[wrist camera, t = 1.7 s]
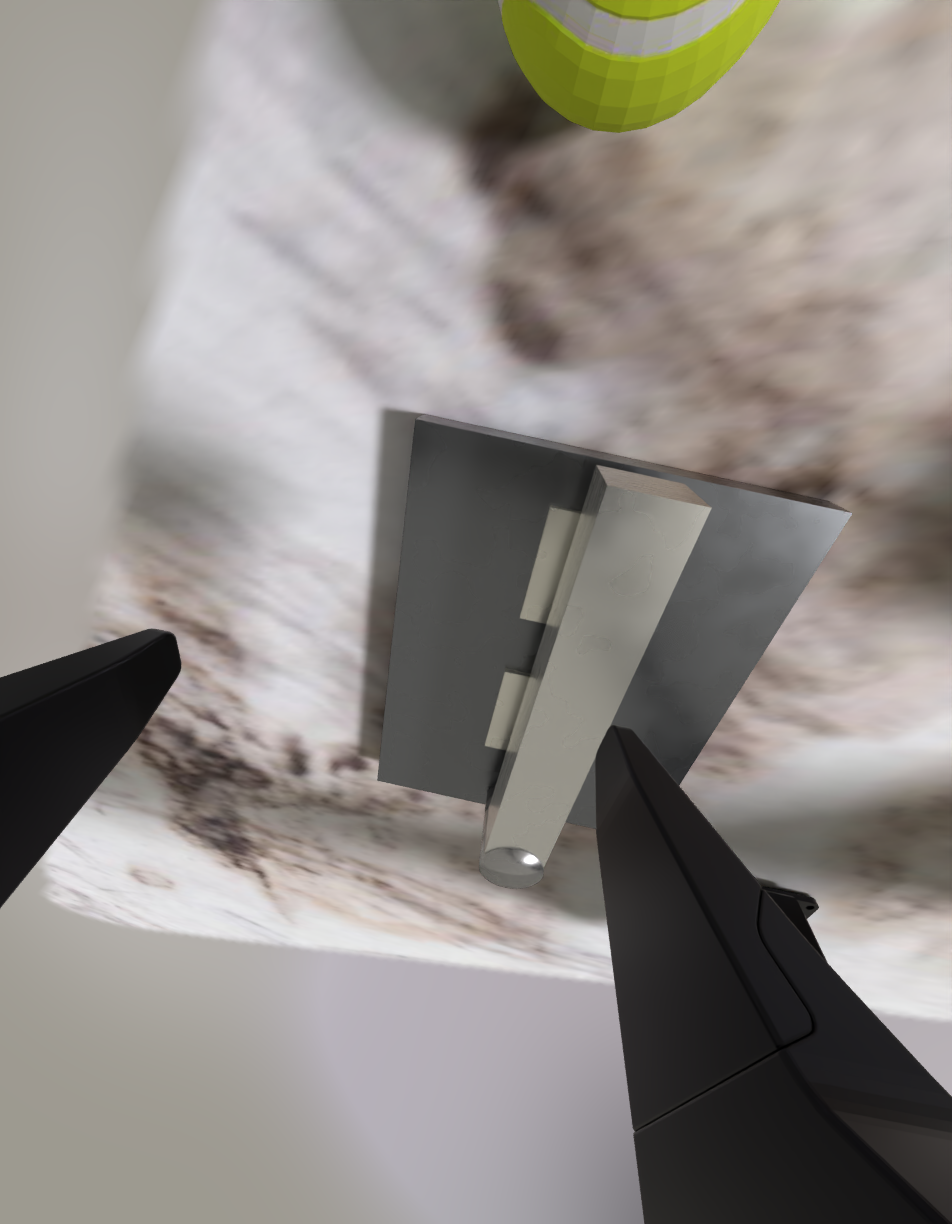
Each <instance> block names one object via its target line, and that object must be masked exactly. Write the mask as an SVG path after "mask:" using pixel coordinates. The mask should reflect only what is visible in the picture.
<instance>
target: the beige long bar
mask: <svg viewBox="0 0 952 1224" xmlns="http://www.w3.org/2000/svg"><path fill="white" fill-rule="evenodd" d="M711 509H712V508H711V507H710V506H709V505H708V504H707V503H706V502H705V501H703V500H702V499H701V498H700V497H699V496H698V495H697V494H695V493H694V492H693V491H692V490H691V489H690V488H689V487H688V486H686V485H685V484H683V483H678V482H674V481H669V480H664V479H660V478H655V477H650V476H646V475H641V474H637V473H632V472H627V471H623V470H618V469H613V468H609V467H604V466H599V465H596V468H595V471H594V474H593V477H592V480H591V484H590V487H589V490H588V493H587V496H586V500H585V503H584V506H583V509H582V512H581V515H580V519H579V522H578V525H577V528H576V531H575V535H574V538H573V541H572V544H571V547H570V550H569V554H568V557H567V560H566V563H565V566H564V570H563V573H562V576H561V579H560V582H559V585H558V589H557V592H556V595H555V598H554V601H553V605H552V608H551V611H550V614H549V617H548V620H547V624H546V627H545V630H544V633H543V636H542V640H541V643H540V646H539V649H538V652H537V655H536V659H535V662H534V665H533V668H532V671H531V675H530V678H529V681H528V684H527V687H526V690H525V694H524V697H523V700H522V703H521V706H520V710H519V713H518V716H517V719H516V722H515V726H514V729H513V732H512V735H511V738H510V741H509V745H508V748H507V751H506V754H505V757H504V761H503V764H502V767H501V770H500V773H499V776H498V780H497V783H496V786H495V789H494V792H493V796H492V799H491V802H490V805H489V808H488V809H487V810H486V812H485V816H484V825H483V834H482V843H481V852H480V861H479V870H480V872H481V874H482V875H483V876H484V877H485V878H486V879H487V880H488V881H490V882H492V883H494V884H496V885H498V886H502V887H506V888H516V889H517V888H526V887H530V886H533V885H535V884H537V883H538V882H539V881H540V880H541V879H542V877H543V875H544V866H545V864H546V862H547V860H548V858H549V856H550V854H551V851H552V849H553V847H554V845H555V843H556V841H557V839H558V836H559V834H560V832H561V830H562V828H563V826H564V824H565V821H566V819H567V817H568V815H569V813H570V811H571V809H572V806H573V804H574V802H575V800H576V798H577V796H578V794H579V791H580V789H581V787H582V785H583V783H584V781H585V779H586V776H587V774H588V772H589V770H590V768H591V766H592V764H593V761H594V759H595V757H596V753H597V750H598V748H599V746H600V744H601V742H602V740H603V738H604V736H605V734H606V732H607V730H608V728H609V727H610V725H611V723H612V721H613V719H614V716H615V714H616V712H617V710H618V708H619V706H620V704H621V701H622V699H623V697H624V695H625V693H626V691H627V689H628V686H629V684H630V682H631V680H632V678H633V676H634V674H635V671H636V669H637V667H638V665H639V663H640V661H641V659H642V656H643V654H644V652H645V650H646V648H647V646H648V644H649V641H650V639H651V637H652V635H653V633H654V631H655V629H656V626H657V624H658V622H659V620H660V618H661V616H662V614H663V611H664V609H665V607H666V605H667V603H668V601H669V599H670V596H671V594H672V592H673V590H674V588H675V586H676V584H677V581H678V579H679V577H680V575H681V573H682V571H683V569H684V566H685V564H686V562H687V560H688V558H689V556H690V554H691V551H692V549H693V547H694V545H695V543H696V541H697V539H698V536H699V534H700V532H701V530H702V528H703V526H704V524H705V521H706V519H707V517H708V515H709V513H710V511H711Z"/></svg>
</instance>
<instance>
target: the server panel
mask: <svg viewBox="0 0 952 1224" xmlns="http://www.w3.org/2000/svg"><path fill="white" fill-rule="evenodd" d="M596 465H599V466H604V467H609V468H613V469H618V470H623V471H627V472H632V473H637V474H641V475H646V476H650V477H655V478H660V479H664V480H669V481H674V482H678V483H683V484H685V485H686V486H688V487H689V488H690V489H691V490H692V491H693V492H694V493H695V494H697V495H698V496H699V497H700V498H701V499H702V500H703V501H705V502H706V503H707V504H708V505H709V506H710V507H711V508H712V509H711V511H710V513H709V515H708V517H707V519H706V521H705V524H704V526H703V528H702V530H701V532H700V534H699V536H698V539H697V541H696V543H695V545H694V547H693V549H692V551H691V554H690V556H689V558H688V560H687V562H686V564H685V566H684V569H683V571H682V573H681V575H680V577H679V579H678V581H677V584H676V586H675V588H674V590H673V592H672V594H671V596H670V599H669V601H668V603H667V605H666V607H665V609H664V611H663V614H662V616H661V618H660V620H659V622H658V624H657V626H656V629H655V631H654V633H653V635H652V637H651V639H650V641H649V644H648V646H647V648H646V650H645V652H644V654H643V656H642V659H641V661H640V663H639V665H638V667H637V669H636V671H635V674H634V676H633V678H632V680H631V682H630V684H629V686H628V689H627V691H626V693H625V695H624V697H623V699H622V701H621V704H620V706H619V708H618V710H617V712H616V714H615V716H614V719H613V721H612V723H611V725H619V726H624V727H628V728H631V729H632V730H633V731H634V732H635V733H636V734H637V735H638V737H639V738H640V739H641V740H642V742H643V743H644V744H645V745H646V746H647V748H648V749H649V750H650V751H651V752H652V754H653V755H654V756H655V757H656V759H657V760H658V761H659V762H660V763H661V765H662V766H663V767H664V768H665V769H666V771H667V772H668V773H669V774H670V776H671V777H672V778H673V779H674V780H675V782H676V783H677V784H678V785H680V783H681V782H682V780H683V778H684V777H685V775H686V774H687V772H688V771H689V769H690V767H691V766H692V764H693V763H694V761H695V760H696V758H697V757H698V755H699V753H700V752H701V750H702V749H703V747H704V746H705V744H706V742H707V741H708V739H709V738H710V736H711V735H712V733H713V731H714V730H715V728H716V727H717V725H718V724H719V722H720V720H721V719H722V717H723V716H724V714H725V713H726V711H727V709H728V708H729V706H730V705H731V703H732V702H733V700H734V698H735V697H736V695H737V694H738V692H739V691H740V689H741V687H742V686H743V684H744V683H745V681H746V680H747V678H748V676H749V675H750V673H751V672H752V670H753V669H754V667H755V665H756V664H757V662H758V661H759V659H760V658H761V656H762V654H763V653H764V651H765V650H766V648H767V647H768V645H769V643H770V642H771V640H772V639H773V637H774V636H775V634H776V633H777V631H778V629H779V628H780V626H781V625H782V623H783V622H784V620H785V618H786V617H787V615H788V614H789V612H790V611H791V609H792V607H793V606H794V604H795V603H796V601H797V600H798V598H799V596H800V595H801V593H802V592H803V590H804V589H805V587H806V585H807V584H808V582H809V581H810V579H811V578H812V576H813V574H814V573H815V571H816V570H817V568H818V567H819V565H820V563H821V562H822V560H823V559H824V557H825V556H826V554H827V552H828V551H829V549H830V548H831V546H832V545H833V543H834V541H835V540H836V538H837V537H838V535H839V534H840V532H841V530H842V529H843V527H844V526H845V524H846V523H847V521H848V519H849V518H850V516H851V515H852V513H851V512H849V511H847V510H845V509H843V508H841V507H839V506H837V505H835V504H833V503H831V502H829V501H825V500H821V499H816V498H811V497H807V496H802V495H797V494H793V493H788V492H784V491H779V490H774V489H770V488H765V487H760V486H756V485H751V484H746V483H742V482H737V481H733V480H728V479H723V478H719V477H714V476H709V475H705V474H700V473H695V472H691V471H686V470H681V469H677V468H672V467H668V466H663V465H658V464H654V463H649V462H644V461H640V460H635V459H630V458H626V457H621V456H617V455H612V454H607V453H603V452H598V451H593V450H589V449H584V448H579V447H575V446H570V445H565V444H561V443H556V442H552V441H547V440H542V439H538V438H533V437H528V436H524V435H519V434H514V433H510V432H505V431H500V430H496V429H491V428H487V427H482V426H477V425H473V424H468V423H463V422H459V421H454V420H449V419H445V418H440V417H436V416H431V415H426V414H423V415H422V416H420V417H418V418H416V419H415V427H414V436H413V446H412V455H411V465H410V474H409V484H408V493H407V503H406V512H405V522H404V531H403V541H402V551H401V560H400V570H399V579H398V589H397V598H396V608H395V617H394V627H393V636H392V646H391V655H390V665H389V674H388V684H387V693H386V703H385V712H384V722H383V732H382V741H381V751H380V760H379V770H378V779H377V781H382V782H386V783H391V784H395V785H400V786H404V787H409V788H413V789H418V790H423V791H427V792H432V793H436V794H441V795H445V796H450V797H454V798H459V799H463V800H468V801H472V802H477V803H481V804H486V807H485V812H486V810H487V809H488V808H489V805H490V802H491V799H492V796H493V792H494V789H495V786H496V783H497V780H498V776H499V773H500V770H501V767H502V764H503V761H504V757H505V754H506V751H507V748H508V745H509V741H510V738H511V735H512V732H513V729H514V726H515V722H516V719H517V716H518V713H519V710H520V706H521V703H522V700H523V697H524V694H525V690H526V687H527V684H528V681H529V678H530V675H531V671H532V668H533V665H534V662H535V659H536V655H537V652H538V649H539V646H540V643H541V640H542V636H543V633H544V630H545V627H546V624H547V620H548V617H549V614H550V611H551V608H552V605H553V601H554V598H555V595H556V592H557V589H558V585H559V582H560V579H561V576H562V573H563V570H564V566H565V563H566V560H567V557H568V554H569V550H570V547H571V544H572V541H573V538H574V535H575V531H576V528H577V525H578V522H579V519H580V515H581V512H582V509H583V506H584V503H585V500H586V496H587V493H588V490H589V487H590V484H591V480H592V477H593V474H594V471H595V468H596ZM611 725H610V726H611ZM595 758H596V757H595ZM565 822H567V823H571V824H576V825H580V826H585V827H590V828H594V829H596V788H595V759H594V761H593V764H592V766H591V768H590V770H589V772H588V774H587V776H586V779H585V781H584V783H583V785H582V787H581V789H580V791H579V794H578V796H577V798H576V800H575V802H574V804H573V806H572V809H571V811H570V813H569V815H568V817H567V819H566V821H565Z"/></svg>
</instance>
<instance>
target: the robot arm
mask: <svg viewBox="0 0 952 1224" xmlns="http://www.w3.org/2000/svg"><path fill="white" fill-rule="evenodd" d="M180 671H181V659H180V654H179V649H178V644H177V640H176V637H175V635H174V634H173V633H171V632H168V631H164V630H159V629H147V630H144V631H141V632H138V633H135V634H132V635H129V636H125V637H122V638H119V639H116V640H113V641H110V642H107V643H104V644H101V645H98V646H95V647H92V648H89V649H86V650H83V651H80V652H77V653H74V654H71V655H68V656H65V657H62V658H59V659H56V660H52V661H49V662H46V663H43V664H40V665H37V666H34V667H31V668H28V669H25V670H22V671H19V672H16V673H13V674H10V675H7V676H4V677H1V678H0V908H1V907H2V905H3V904H4V903H5V902H6V900H7V899H8V898H9V897H10V895H11V894H12V893H13V892H14V891H15V889H16V888H17V887H18V886H19V884H20V883H21V882H22V881H23V880H24V878H25V877H26V876H27V875H28V873H29V872H30V871H31V870H32V868H33V867H34V866H35V865H36V863H37V862H38V861H39V860H40V858H41V857H42V856H43V855H44V854H45V852H46V851H47V850H48V849H49V847H50V846H51V845H52V844H53V842H54V841H55V840H56V839H57V837H58V836H59V835H60V834H61V833H62V831H63V830H64V829H65V828H66V826H67V825H68V824H69V823H70V821H71V820H72V819H73V818H74V816H75V815H76V814H77V813H78V811H79V810H80V809H81V808H82V807H83V805H84V804H85V803H86V802H87V800H88V799H89V798H90V797H91V795H92V794H93V793H94V792H95V790H96V789H97V788H98V787H99V786H100V784H101V783H102V782H103V781H104V779H105V778H106V777H107V776H108V774H109V773H110V772H111V771H112V769H113V768H114V767H115V766H116V764H117V763H118V762H119V761H120V760H121V758H122V757H123V756H124V755H125V753H126V752H127V751H128V750H129V748H130V747H131V746H132V744H133V743H134V742H135V740H136V739H137V738H138V736H139V735H140V733H141V732H142V731H143V729H144V728H145V726H146V725H147V723H148V722H149V720H150V719H151V717H152V715H153V714H154V712H155V711H156V709H157V708H158V706H159V705H160V703H161V702H162V700H163V699H164V697H165V695H166V694H167V692H168V691H169V689H170V688H171V686H172V685H173V683H174V682H175V680H176V679H177V677H178V675H179V673H180ZM595 788H596V834H597V845H598V853H599V861H600V869H601V877H602V885H603V893H604V901H605V909H606V917H607V925H608V933H609V941H610V949H611V957H612V965H613V973H614V981H615V989H616V997H617V1004H618V1013H619V1021H620V1029H621V1037H622V1044H623V1053H624V1061H625V1069H626V1076H627V1085H628V1093H629V1101H630V1109H631V1116H632V1125H633V1129H634V1131H635V1132H634V1135H633V1136H634V1142H635V1143H634V1144H635V1151H636V1159H637V1168H638V1176H639V1183H640V1192H641V1200H642V1208H643V1215H644V1224H952V1096H951V1095H950V1094H949V1093H948V1092H947V1091H946V1090H945V1089H944V1088H943V1087H942V1086H941V1085H940V1084H939V1083H938V1082H937V1081H936V1080H935V1079H934V1078H933V1077H932V1076H931V1075H930V1074H929V1072H927V1070H926V1069H925V1068H924V1067H923V1066H922V1065H921V1064H920V1063H919V1062H918V1061H917V1060H916V1058H915V1057H914V1056H913V1055H912V1054H911V1053H910V1052H909V1051H908V1050H907V1049H906V1048H905V1047H904V1046H903V1044H902V1043H901V1042H900V1041H899V1040H898V1039H897V1038H896V1037H895V1036H894V1035H893V1034H892V1033H891V1032H890V1030H889V1029H887V1027H886V1026H885V1025H884V1024H883V1023H882V1022H881V1021H880V1020H879V1019H878V1017H877V1016H876V1015H875V1014H874V1013H873V1012H872V1011H871V1010H870V1009H869V1008H868V1007H867V1006H866V1005H865V1003H864V1002H863V1001H862V1000H861V999H860V998H859V997H858V996H857V995H856V994H855V993H854V992H853V991H852V989H851V988H850V987H849V986H848V985H847V984H846V983H845V982H844V981H843V980H842V979H841V977H840V976H839V975H838V974H837V973H836V972H835V971H834V970H833V969H832V967H831V966H830V965H829V964H828V963H827V961H826V958H825V956H824V954H823V952H822V950H821V948H820V946H819V944H818V942H817V940H816V938H815V935H814V933H813V931H812V929H811V927H810V925H809V923H808V921H807V918H809V917H810V916H811V915H812V914H813V913H814V912H815V911H816V910H818V908H819V906H818V904H817V902H816V900H815V899H814V898H812V897H808V896H803V895H799V894H794V893H790V892H785V891H781V890H776V889H772V888H767V887H763V886H761V885H760V884H759V882H758V881H757V880H756V879H755V877H754V876H753V875H752V874H751V873H750V871H749V870H748V869H747V868H746V867H745V865H744V864H743V863H742V862H741V860H740V859H739V858H738V857H737V856H736V854H735V853H734V852H733V851H732V850H731V848H730V847H729V846H728V845H727V844H726V842H725V841H724V840H723V839H722V837H721V836H720V835H719V834H718V833H717V831H716V830H715V829H714V828H713V827H712V825H711V824H710V823H709V822H708V820H707V819H706V818H705V817H704V816H703V814H702V813H701V812H700V811H699V810H698V808H697V807H696V806H695V805H694V803H693V802H692V801H691V800H690V799H689V797H688V796H687V795H686V794H685V793H684V791H683V790H682V789H681V788H680V786H679V785H678V784H677V783H676V782H675V780H674V779H673V778H672V777H671V776H670V774H669V773H668V772H667V771H666V769H665V768H664V767H663V766H662V765H661V763H660V762H659V761H658V760H657V759H656V757H655V756H654V755H653V754H652V752H651V751H650V750H649V749H648V748H647V746H646V745H645V744H644V743H643V742H642V740H641V739H640V738H639V737H638V735H637V734H636V733H635V732H634V731H633V730H632V729H631V728H628V727H624V726H619V725H611V726H610V727H609V728H608V730H607V732H606V734H605V736H604V738H603V740H602V742H601V744H600V746H599V748H598V750H597V753H596V758H595Z"/></svg>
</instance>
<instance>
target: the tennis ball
mask: <svg viewBox="0 0 952 1224" xmlns="http://www.w3.org/2000/svg"><path fill="white" fill-rule="evenodd" d="M779 1H780V0H498V4H499V8H500V12H501V15H502V22H503V27H504V30H505V33H506V36H507V39H508V42H509V45H510V48H511V50H512V53H513V55H514V57H515V59H516V61H517V63H518V65H519V67H520V68H521V70H522V72H523V73H524V75H525V76H526V78H527V79H528V81H529V82H530V84H531V85H532V87H533V88H534V90H535V91H536V92H537V94H538V95H539V96H540V97H541V98H542V100H543V101H544V102H545V103H546V104H547V105H549V106H550V107H551V108H553V109H554V110H555V111H557V112H558V113H559V114H561V115H562V116H563V117H565V118H566V119H568V120H569V121H571V122H573V123H576V124H578V125H581V126H583V127H586V128H588V129H591V130H596V131H606V132H616V133H620V132H625V131H631V130H637V129H643V128H647V127H649V126H652V125H654V124H656V123H659V122H661V121H663V120H666V119H668V118H670V117H673V116H675V115H676V114H677V113H679V112H680V111H682V110H683V109H685V108H686V107H688V106H689V105H690V104H692V103H693V102H695V101H696V100H698V99H699V98H701V97H702V96H703V95H704V94H705V93H706V92H707V91H708V90H709V89H710V88H711V87H712V86H713V85H714V84H715V83H716V82H717V81H718V80H719V79H720V78H721V77H722V76H723V75H724V74H725V73H726V72H727V71H728V70H729V69H730V68H731V67H732V66H733V65H734V64H735V63H736V62H737V61H738V60H739V59H740V58H741V56H742V55H743V54H744V52H745V51H746V50H747V48H748V47H749V46H750V44H751V43H752V42H753V40H754V39H755V38H756V37H757V35H758V34H759V33H760V31H761V30H762V29H763V27H764V26H765V25H766V23H767V22H768V20H769V19H770V17H771V15H772V13H773V12H774V10H775V8H776V7H777V5H778V3H779Z"/></svg>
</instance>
